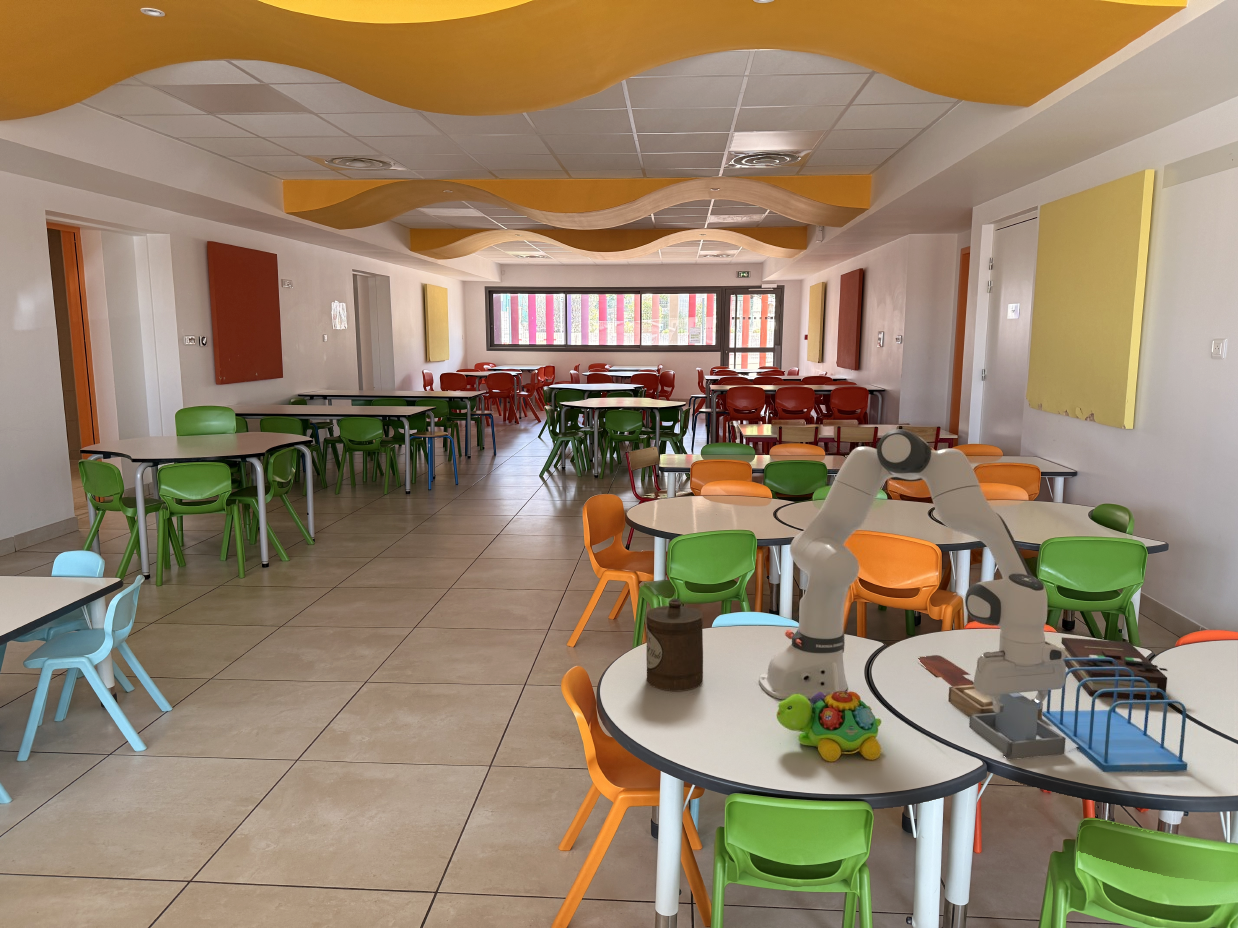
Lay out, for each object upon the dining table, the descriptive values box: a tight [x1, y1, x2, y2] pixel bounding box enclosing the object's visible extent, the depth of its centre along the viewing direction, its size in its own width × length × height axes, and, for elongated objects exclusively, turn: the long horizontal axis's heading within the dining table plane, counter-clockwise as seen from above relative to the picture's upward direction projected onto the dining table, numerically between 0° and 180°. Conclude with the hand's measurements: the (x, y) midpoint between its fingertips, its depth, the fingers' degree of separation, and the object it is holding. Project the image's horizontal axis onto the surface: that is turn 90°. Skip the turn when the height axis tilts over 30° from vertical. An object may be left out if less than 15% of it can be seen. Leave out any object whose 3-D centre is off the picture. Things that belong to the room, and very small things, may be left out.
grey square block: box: [994, 693, 1039, 742], centre depth 182 cm, size 3×10×10 cm, turn 11°
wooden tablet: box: [918, 654, 974, 687], centre depth 220 cm, size 27×10×2 cm, turn 7°
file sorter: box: [1042, 657, 1188, 773], centre depth 181 cm, size 25×17×15 cm
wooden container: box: [646, 597, 704, 692], centre depth 216 cm, size 15×15×22 cm
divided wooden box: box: [948, 685, 1044, 720], centre depth 197 cm, size 16×13×4 cm
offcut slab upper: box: [963, 689, 993, 707], centre depth 196 cm, size 5×7×2 cm
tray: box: [968, 713, 1067, 760], centre depth 183 cm, size 13×14×4 cm
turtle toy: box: [776, 690, 882, 763], centre depth 181 cm, size 17×23×12 cm
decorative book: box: [1060, 636, 1169, 701], centre depth 216 cm, size 19×8×30 cm
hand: (1017, 709), depth 182 cm, fingers open, 8 cm apart
